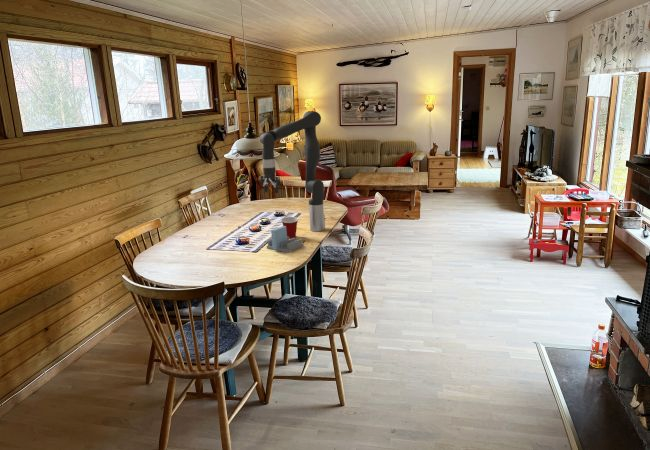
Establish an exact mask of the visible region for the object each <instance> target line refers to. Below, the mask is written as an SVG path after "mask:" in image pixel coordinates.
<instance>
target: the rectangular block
mask: <svg viewBox="0 0 650 450" xmlns="http://www.w3.org/2000/svg"><path fill="white" fill-rule="evenodd" d="M270 231H271V232H270V233H271V239H272V247H273V249H278V248H281V244H280V243H282V242H284V241H287V231H286V226H283V225H282V226H279V227H276V228H273V229H271V230H270Z"/></svg>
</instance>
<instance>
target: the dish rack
mask: <svg viewBox="0 0 650 450" xmlns="http://www.w3.org/2000/svg"><path fill="white" fill-rule="evenodd" d="M280 244H281V248H278V249H273V247H272V238H271V239H268V240H267V245H266V249H268V250H272V251H278V252H283V253H290V252H293V251H295V250H298V249H300V248H301V247H304V243H303V239H302V238H299V239H296V237H295V238H292V239H289V237H287V241H284V242H282V243H280Z"/></svg>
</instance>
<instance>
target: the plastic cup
mask: <svg viewBox="0 0 650 450" xmlns="http://www.w3.org/2000/svg"><path fill="white" fill-rule="evenodd" d="M280 221H281V223H282V226H286V231H287V237H289V239H292V238H295V239H296V237H297V230H298V229H297V228H298V221H299V218H298V217H296V216H287V217H286V216H285V217H283V218H281V219H280Z"/></svg>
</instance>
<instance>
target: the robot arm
mask: <svg viewBox="0 0 650 450" xmlns="http://www.w3.org/2000/svg"><path fill="white" fill-rule="evenodd" d="M321 121H322V116H321V114H320V113H319V112H318V111H315V110H310V111H306V112H305V113H304V114H303V117H302V118H300V119H298V120H295V121H292V122H288V123H286V124H283V125H281V126H278V127H276V128H275V129H271V130H268V131H265V132H263V133H262V134H260V136H259V141H260V143H261V144H262V145H263V149H262V153H261V155H262V173H263V174H262V175H260V186H262V187H263V192H264V193H268V192H269V191H268V184H271V185H272V186H273V188H274V194H278V193H279V187H281V185H282V184H281V178H280V176H279V175H278V176H276V174H277V171H276V161H275V151H274V149H275V141H277V140H278V141H280V140H283V139H284V138H286V137H289V136H291V135H294V134H296V133H298V132H301V131H302V130H304V150H305V151H304V153H305V156H304V157H305V180H304V181H305V185H304V186H305V190H306V192H308V193H309V194H312V198H310V199H309V200H308V211H309V213H308V214H309V228H310V231H311V232H322V231H324V230H325V229H326V219H325V218H326V216H325V212H324V199H325V185H324V182H323V181H322V180H321V179H318V178H317V179H316V172H317V167H318V165H319V163H320V159H321V147H320V143H319V140H318V138H317V129H316V128H317V126H318V125H319V124H320V123H321Z"/></svg>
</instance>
